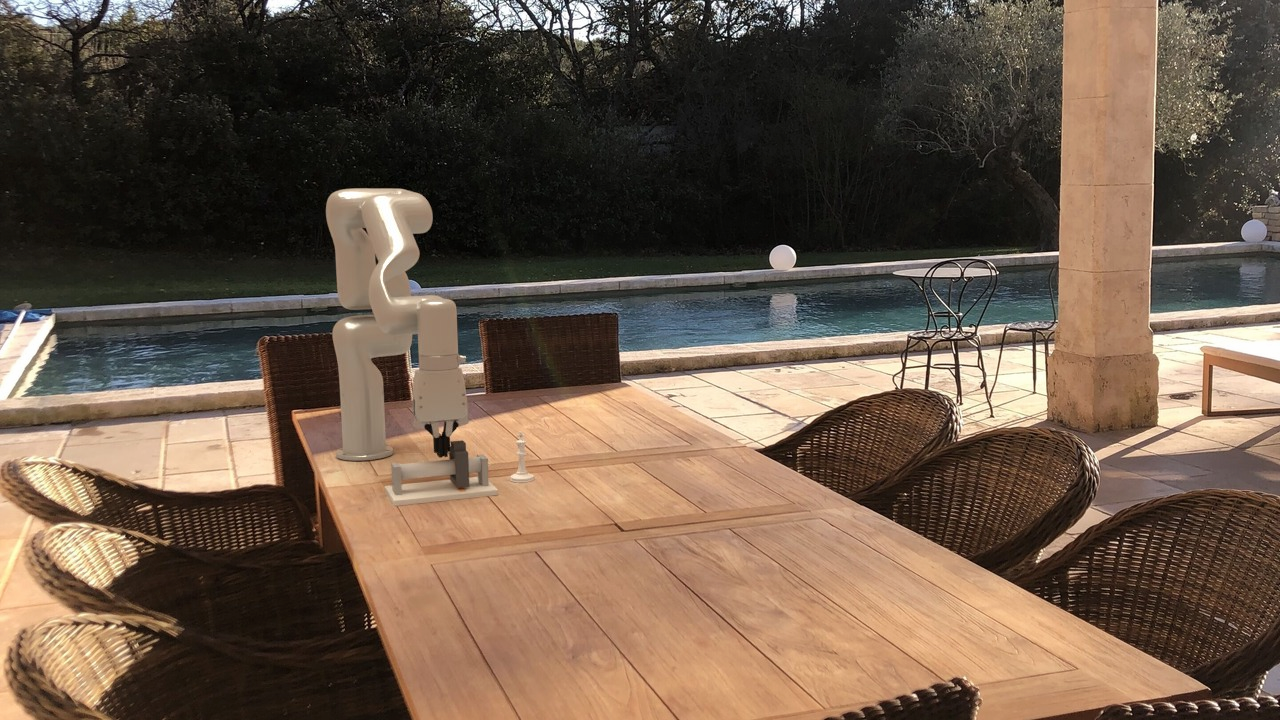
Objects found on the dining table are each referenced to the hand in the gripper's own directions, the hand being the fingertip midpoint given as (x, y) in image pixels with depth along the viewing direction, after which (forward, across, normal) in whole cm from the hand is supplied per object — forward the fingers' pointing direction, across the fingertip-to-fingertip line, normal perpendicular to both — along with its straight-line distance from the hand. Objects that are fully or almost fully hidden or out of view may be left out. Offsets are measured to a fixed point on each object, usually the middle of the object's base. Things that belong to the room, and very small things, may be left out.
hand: (442, 455), depth 219 cm
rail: (+7, 0, 0) cm, 7 cm away
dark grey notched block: (+6, -3, 0) cm, 7 cm away
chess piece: (+8, -17, -4) cm, 19 cm away
